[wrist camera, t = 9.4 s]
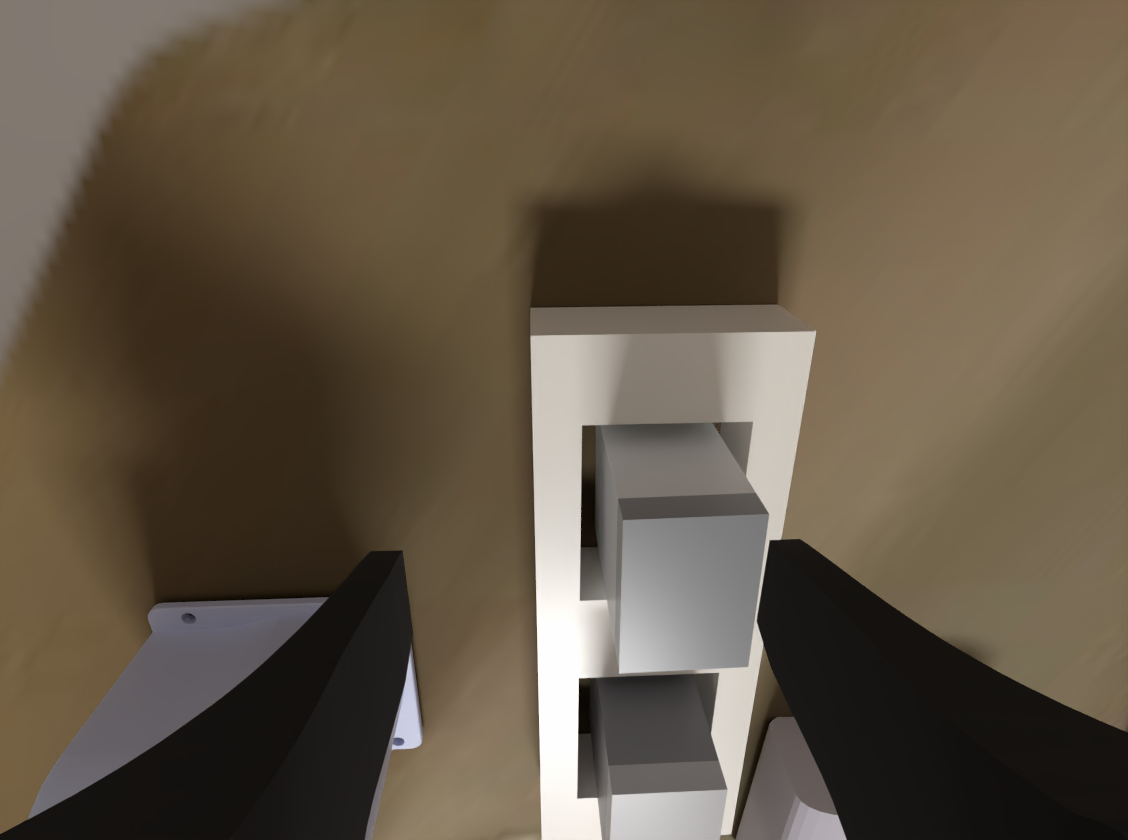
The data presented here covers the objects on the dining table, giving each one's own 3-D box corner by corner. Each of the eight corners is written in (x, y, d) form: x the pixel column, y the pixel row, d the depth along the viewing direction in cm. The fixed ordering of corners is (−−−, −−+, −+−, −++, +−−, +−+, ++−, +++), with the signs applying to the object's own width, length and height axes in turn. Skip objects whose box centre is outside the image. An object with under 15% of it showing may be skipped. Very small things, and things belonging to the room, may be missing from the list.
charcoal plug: (589, 720, 28) (607, 893, 22) (591, 632, 26) (612, 795, 20) (670, 716, 28) (712, 887, 22) (679, 629, 26) (727, 789, 20)
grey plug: (594, 528, 24) (618, 673, 18) (595, 406, 22) (622, 520, 16) (690, 524, 24) (748, 666, 18) (699, 402, 22) (769, 513, 16)
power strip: (540, 777, 29) (542, 864, 26) (530, 307, 20) (530, 344, 17) (712, 769, 30) (736, 853, 26) (778, 304, 21) (828, 340, 17)
